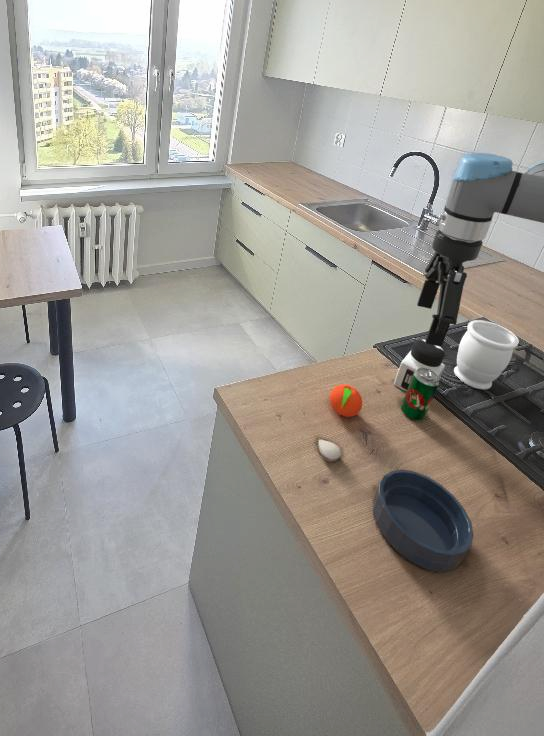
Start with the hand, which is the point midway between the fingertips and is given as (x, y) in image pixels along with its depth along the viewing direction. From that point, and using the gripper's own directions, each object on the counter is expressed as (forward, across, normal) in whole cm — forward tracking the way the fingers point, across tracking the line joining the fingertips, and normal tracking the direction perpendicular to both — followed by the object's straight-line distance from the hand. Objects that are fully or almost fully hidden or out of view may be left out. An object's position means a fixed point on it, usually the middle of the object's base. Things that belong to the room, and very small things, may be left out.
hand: (428, 324), depth 89 cm
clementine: (+25, +7, -12) cm, 29 cm away
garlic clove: (+25, +20, -15) cm, 35 cm away
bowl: (+24, +29, 0) cm, 38 cm away
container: (+26, -10, +4) cm, 28 cm away
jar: (+26, -20, +19) cm, 38 cm away
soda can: (+26, 0, +3) cm, 26 cm away
